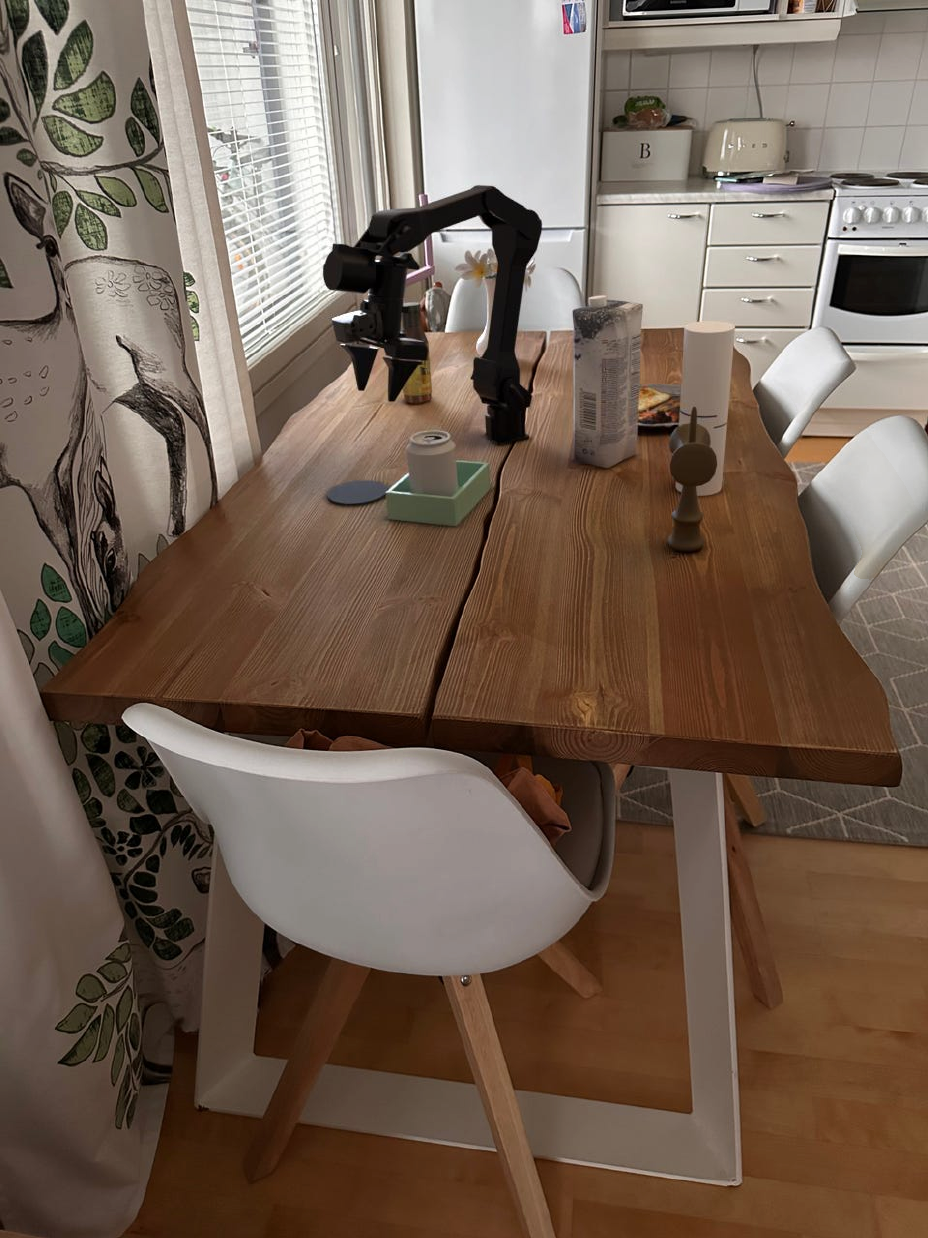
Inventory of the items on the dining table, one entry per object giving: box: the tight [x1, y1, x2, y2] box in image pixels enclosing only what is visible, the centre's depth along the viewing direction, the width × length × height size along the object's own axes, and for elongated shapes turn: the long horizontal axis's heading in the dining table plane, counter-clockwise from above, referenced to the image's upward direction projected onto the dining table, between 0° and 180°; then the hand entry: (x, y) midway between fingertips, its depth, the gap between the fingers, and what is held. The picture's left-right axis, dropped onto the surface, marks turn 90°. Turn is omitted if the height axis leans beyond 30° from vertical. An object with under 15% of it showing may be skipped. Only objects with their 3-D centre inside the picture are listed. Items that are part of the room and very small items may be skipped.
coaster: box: [326, 480, 389, 507], centre depth 154 cm, size 10×10×1 cm
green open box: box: [385, 459, 492, 527], centre depth 147 cm, size 15×11×4 cm
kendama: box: [667, 406, 717, 552], centre depth 124 cm, size 6×10×20 cm, turn 171°
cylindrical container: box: [675, 320, 736, 497], centre depth 141 cm, size 7×7×25 cm
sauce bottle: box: [401, 301, 433, 404], centre depth 193 cm, size 6×6×20 cm
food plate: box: [638, 383, 681, 430], centre depth 179 cm, size 25×23×4 cm
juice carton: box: [572, 294, 644, 469], centre depth 154 cm, size 9×10×27 cm
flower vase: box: [454, 247, 537, 357], centre depth 216 cm, size 13×18×25 cm
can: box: [406, 429, 458, 497], centre depth 143 cm, size 8×8×12 cm
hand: (375, 395), depth 152 cm, fingers open, 9 cm apart
